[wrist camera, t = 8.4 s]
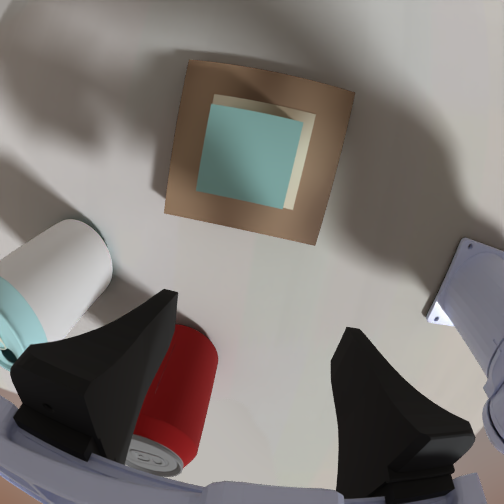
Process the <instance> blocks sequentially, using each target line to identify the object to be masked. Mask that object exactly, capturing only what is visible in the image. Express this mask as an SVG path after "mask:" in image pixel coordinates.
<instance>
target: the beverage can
mask: <svg viewBox="0 0 504 504" xmlns="http://www.w3.org/2000/svg"><path fill="white" fill-rule="evenodd" d="M217 365H218V354H217V351H216V349H215V347H214V345H213V344H212V342H211V341H210V340H209V339H208V338H207V337H206V336H204V335H203V334H202V333H200V332H199V331H197V330H195V329H193V328H190V327H187V326H184V325H178V324H175V331H174V334H173V337H172V340H171V343H170V346H169V349H168V351H167V353H166V355H165V357H164V359H163V361H162V363H161V365H160V367H159V369H158V371H157V373H156V375H155V377H154V379H153V381H152V383H151V385H150V387H149V389H148V391H147V394H146V396H145V399H144V402H143V405H142V408H141V410H140V413H139V416H138V420H137V423H136V426H135V429H134V432H133V436H132V439H131V443H130V446H129V450H128V454H127V457H126V461H125V465H127V466H129V467H132V468H135V469H138V470H141V471H144V472H147V473H150V474H154V475H157V476H161V477H173V476H177V475H178V474H180V473H181V472H182V470H183V468H184V467H185V466H186V465H187V464H189V463H190V462H191V461H192V460H193V459H194V458H195V456H196V455H197V451H198V447H199V443H200V439H201V435H202V431H203V427H204V422H205V418H206V414H207V410H208V405H209V401H210V396H211V392H212V388H213V383H214V378H215V374H216V369H217Z"/></svg>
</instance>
